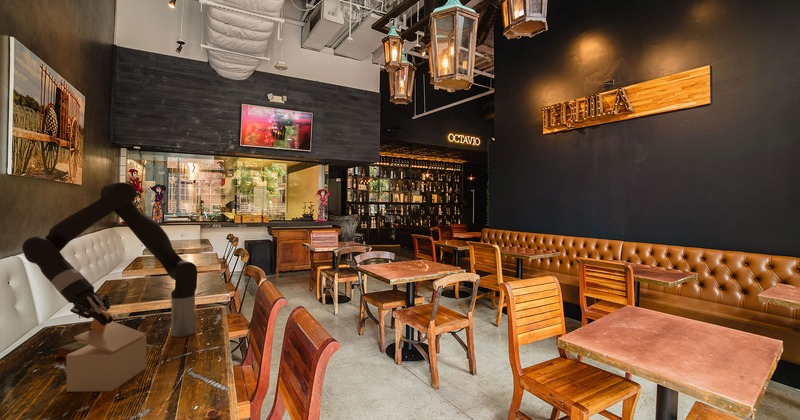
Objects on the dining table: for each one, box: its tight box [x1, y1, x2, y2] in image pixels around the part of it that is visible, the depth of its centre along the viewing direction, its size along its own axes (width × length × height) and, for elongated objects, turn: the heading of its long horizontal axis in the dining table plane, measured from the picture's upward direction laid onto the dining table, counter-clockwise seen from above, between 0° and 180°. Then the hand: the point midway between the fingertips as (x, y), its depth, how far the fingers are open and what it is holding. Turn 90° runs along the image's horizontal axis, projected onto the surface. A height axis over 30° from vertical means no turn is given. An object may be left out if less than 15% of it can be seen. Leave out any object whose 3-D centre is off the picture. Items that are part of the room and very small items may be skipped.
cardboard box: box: [65, 335, 147, 393], centre depth 121 cm, size 14×16×12 cm
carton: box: [57, 340, 89, 359], centre depth 144 cm, size 8×16×4 cm, turn 161°
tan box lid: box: [73, 308, 147, 353], centre depth 121 cm, size 14×15×7 cm
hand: (108, 322), depth 121 cm, fingers closed
